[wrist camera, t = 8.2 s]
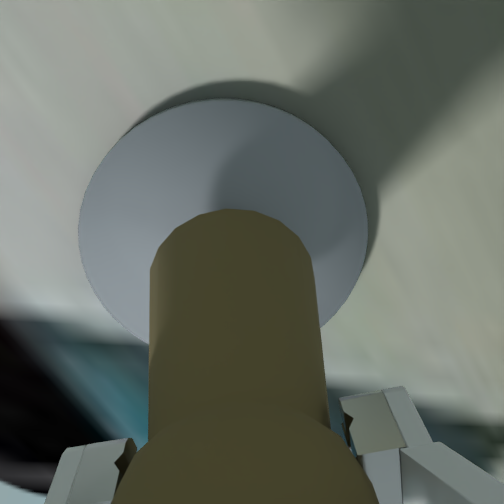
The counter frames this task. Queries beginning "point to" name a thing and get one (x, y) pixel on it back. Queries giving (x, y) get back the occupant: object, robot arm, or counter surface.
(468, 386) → the counter surface
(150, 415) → the cork
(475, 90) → the counter surface
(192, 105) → the coaster
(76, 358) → the counter surface
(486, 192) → the counter surface
